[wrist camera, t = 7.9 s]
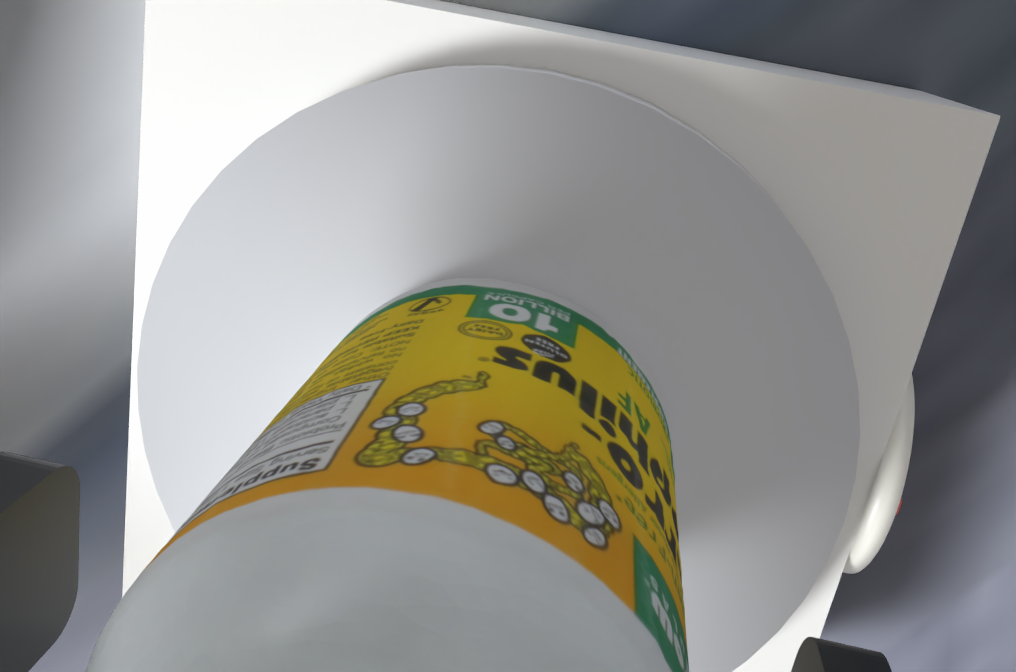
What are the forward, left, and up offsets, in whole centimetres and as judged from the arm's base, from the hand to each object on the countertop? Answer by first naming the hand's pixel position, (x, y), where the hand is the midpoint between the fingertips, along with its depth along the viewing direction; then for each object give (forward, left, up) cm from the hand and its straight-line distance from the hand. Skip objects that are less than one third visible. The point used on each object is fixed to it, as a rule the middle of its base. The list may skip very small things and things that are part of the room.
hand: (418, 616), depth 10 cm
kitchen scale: (0, 0, -9) cm, 9 cm away
